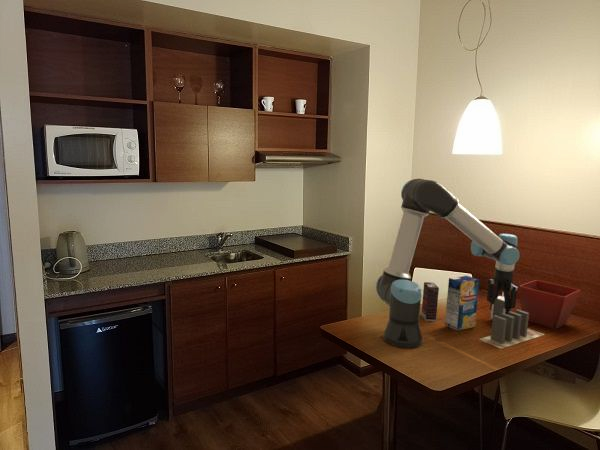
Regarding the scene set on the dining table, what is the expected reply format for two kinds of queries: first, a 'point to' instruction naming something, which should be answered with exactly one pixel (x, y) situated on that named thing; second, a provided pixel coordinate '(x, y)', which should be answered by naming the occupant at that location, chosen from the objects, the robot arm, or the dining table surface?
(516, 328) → the domino
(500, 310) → the domino
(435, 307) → the supplement box
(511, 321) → the domino
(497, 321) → the domino
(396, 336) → the robot arm
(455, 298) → the beverage box
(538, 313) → the plant pot
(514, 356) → the dining table surface
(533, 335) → the board
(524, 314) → the domino
